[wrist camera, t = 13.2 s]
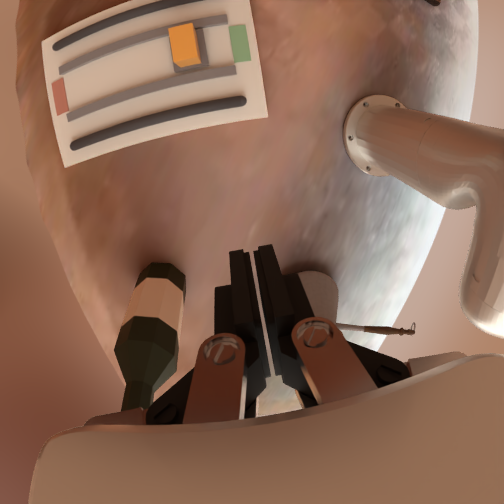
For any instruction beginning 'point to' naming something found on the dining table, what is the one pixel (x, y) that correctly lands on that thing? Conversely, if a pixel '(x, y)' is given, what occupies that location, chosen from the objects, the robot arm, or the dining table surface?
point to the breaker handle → (187, 48)
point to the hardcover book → (433, 2)
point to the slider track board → (150, 74)
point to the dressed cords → (180, 112)
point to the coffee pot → (335, 303)
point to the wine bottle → (151, 333)
